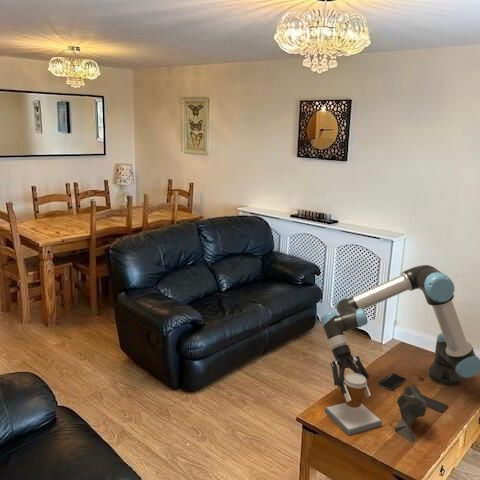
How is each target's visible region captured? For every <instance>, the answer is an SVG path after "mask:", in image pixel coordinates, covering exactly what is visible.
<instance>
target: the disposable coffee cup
mask: <svg viewBox="0 0 480 480" xmlns="http://www.w3.org/2000/svg"><path fill="white" fill-rule="evenodd" d="M367 383H368V381H366V378H365V377H364V376H363V375H361V374H357V373H354V372H349V373H346V375H344V385H345V384H346V387H347V389H348V392H349V395H350V398H351V401H349V402H347V401H346V400H345V402H346V404H347V405H348V406H350V407H353V408H357V407H360V406H361V403H362V401H363V398H364V395H365V393H364V390H365V386H366V385H367Z"/></svg>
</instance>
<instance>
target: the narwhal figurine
mask: <svg viewBox="0 0 480 480" xmlns="http://www.w3.org/2000/svg"><path fill="white" fill-rule="evenodd" d="M422 395H423V394H422V392H421V391H420V390H419V389H418V387H417V386H416V385H414V384H413V385H408V386H407V387H405V388H404V390H403V392H402V393H401V392H400V396H399V397H398V398H397V400H396V403H397V405H398V408H399V409H398V411H399V412H400V415H401V416H400V417H401V419H400V420H399V422H398V423H397V425H396V426H395V428H394V432H395V433H396V434H398V435H399V436H401V437H402V438H404V439H406V440H407V441H409V442H410V443H414V442H416V441H417V438H416V436H415V434H414V431H413V429H412V425H413V424H414V422H415V421H416V420H417V419H418V418H420V417H421V418H423V417H424V416H425V414H426V410H427V409H428V407H427V406H428V403H427V402H426V400H425V398H424V397H423V396H422Z"/></svg>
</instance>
